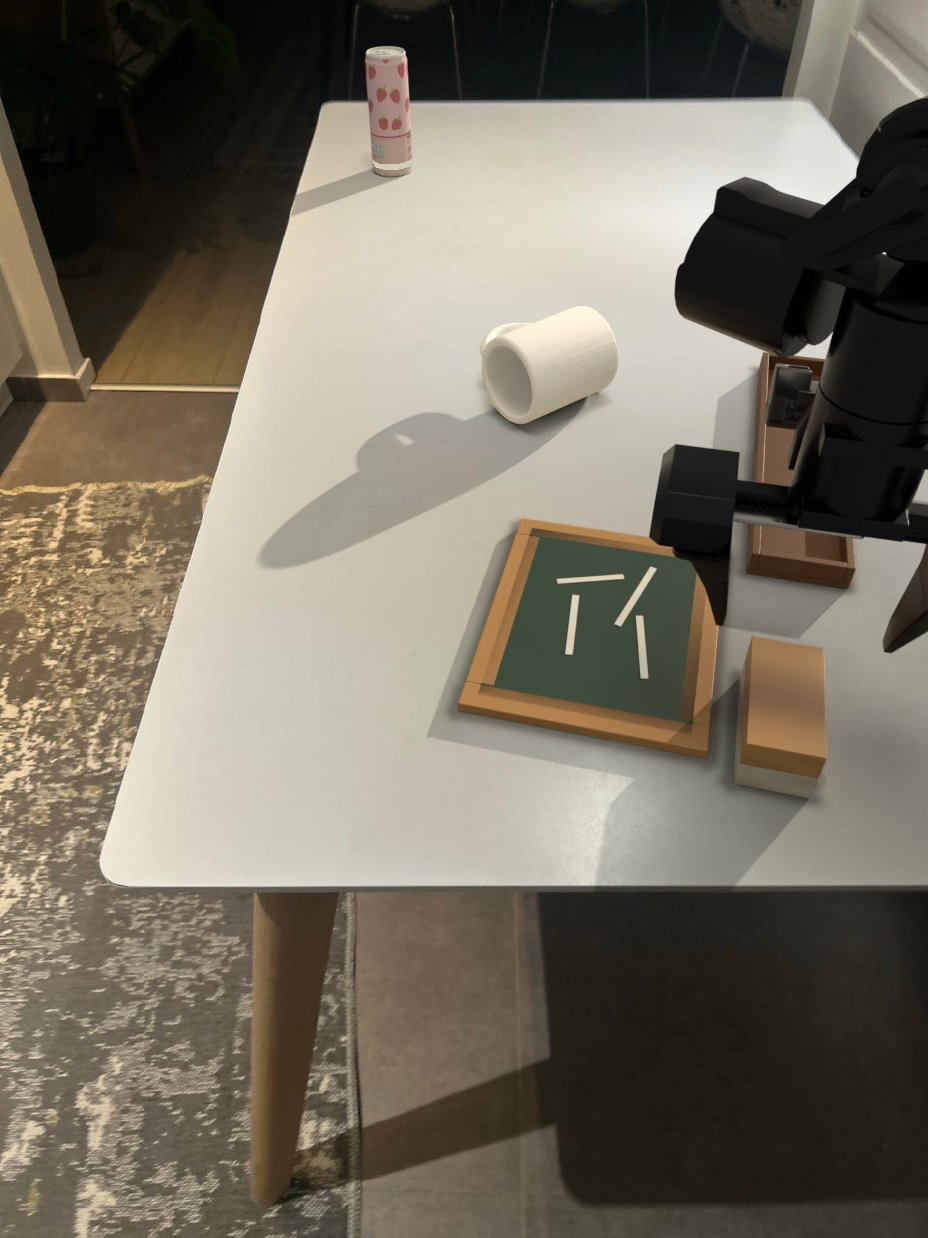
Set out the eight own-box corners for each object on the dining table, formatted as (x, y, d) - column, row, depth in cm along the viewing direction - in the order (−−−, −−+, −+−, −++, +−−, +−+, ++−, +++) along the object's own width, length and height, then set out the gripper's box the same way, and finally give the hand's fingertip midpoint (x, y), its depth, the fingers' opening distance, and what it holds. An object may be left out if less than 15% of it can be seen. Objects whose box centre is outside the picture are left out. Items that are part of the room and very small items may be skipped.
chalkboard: (723, 556, 71) (725, 547, 71) (705, 758, 57) (708, 750, 57) (521, 525, 74) (521, 516, 74) (457, 711, 60) (457, 702, 60)
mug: (614, 402, 87) (624, 323, 82) (534, 439, 83) (538, 358, 77) (532, 353, 94) (536, 277, 89) (454, 385, 90) (453, 307, 84)
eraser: (739, 677, 62) (751, 635, 59) (808, 689, 61) (824, 647, 59) (733, 784, 56) (746, 743, 53) (809, 799, 55) (827, 758, 52)
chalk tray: (836, 379, 90) (842, 360, 89) (848, 589, 68) (856, 568, 67) (758, 370, 91) (762, 351, 90) (746, 573, 70) (752, 553, 68)
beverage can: (366, 167, 133) (357, 48, 123) (402, 160, 135) (395, 43, 125) (383, 179, 130) (374, 58, 119) (419, 172, 132) (414, 52, 121)
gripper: (1071, 330, 46) (958, 568, 56) (690, 294, 49) (652, 525, 60) (1128, 455, 38) (984, 703, 49) (670, 401, 41) (631, 643, 52)
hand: (801, 633), depth 53 cm, fingers open, 9 cm apart
